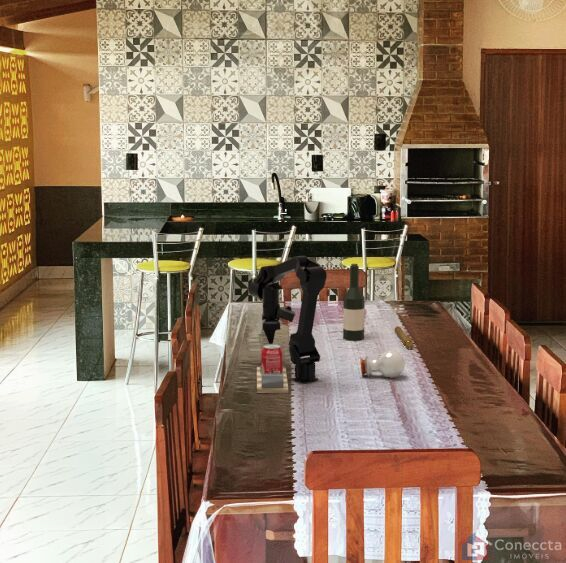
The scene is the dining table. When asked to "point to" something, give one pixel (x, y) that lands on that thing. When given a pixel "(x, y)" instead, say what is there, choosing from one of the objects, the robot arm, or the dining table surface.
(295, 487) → the dining table surface
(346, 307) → the wine bottle
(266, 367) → the soda can
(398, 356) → the potion bottle
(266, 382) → the cradle
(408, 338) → the tap handle
